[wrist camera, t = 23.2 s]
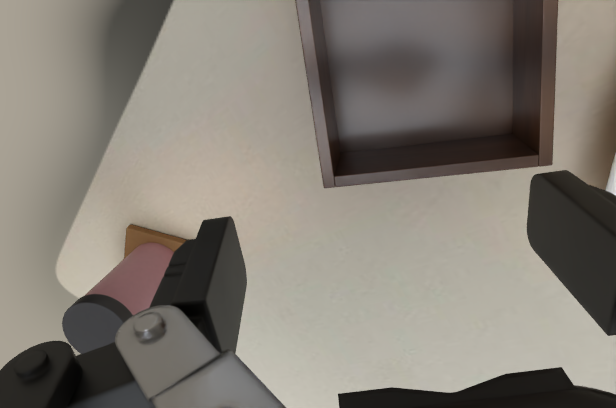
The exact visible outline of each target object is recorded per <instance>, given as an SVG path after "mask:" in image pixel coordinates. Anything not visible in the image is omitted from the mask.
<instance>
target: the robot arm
mask: <svg viewBox="0 0 616 408" xmlns="http://www.w3.org/2000/svg"><path fill="white" fill-rule="evenodd" d="M527 235H528V239H529V242H530V245H531V247H532V248H533V250H534V251H535V252H536V253H537V254H538V256H539V257H540V258H541V259H542V260H543V261H544V262H545V264H546V265H547V266H548V267H549V268H550V269H551V271H552V272H553V273H554V274H555V275H556V276H557V277H558V279H559V280H560V281H561V282H562V283H563V284H564V286H565V287H566V288H567V289H568V290H569V291H570V292H571V294H572V295H573V296H574V297H575V298H576V299H577V301H578V302H579V303H580V304H581V305H582V306H583V308H584V309H585V310H586V311H587V312H588V313H589V314H590V316H591V317H592V318H593V319H594V320H595V321H596V323H597V324H598V325H599V326H600V327H601V328H602V329H603V331H604V332H605V333H606V334H607V335H608V336H610V335H616V196H615V195H614V194H612V193H611V192H608V191H605V190H602V189H599V188H597V187H594V186H591V185H587V184H586V183H585V182H583V181H582V180H580V179H579V178H578V177H576V176H575V175H573V174H572V173H571V172H569V171H567V170H562V171H555V172H548V173H541V174H536V175H534V176H533V178H532V180H531V184H530V195H529V207H528V218H527ZM246 285H247V277H246V268H245V263H244V259H243V255H242V251H241V247H240V243H239V239H238V236H237V232H236V228H235V224H234V221H233V219H232V217H231V216H229V217H222V218H215V219H208V220H203V222H202V224H201V227H200V229H199V232H198V234H197V237H196V239H192V240H186V241H185V242H184V243H183V244H182V245H181V246H180V247H179V248H178V249H177V250H176V251H175V252H174V253H173V255H172V258H171V260H170V262H169V267H167V269H166V271H165V273H164V277H163V278H162V280H161V282H160V284H159V287H158V289H157V291H156V293H155V295H154V298H153V300H152V302H151V304H150V307H149V308H147V309H145V310H142V311H140V312H138V313H137V314H135V315H133V316H132V317H130V318H129V319H128V320H127V321H125V322H124V323H123V324H122V326H121V327H120V328H119V330H118V331H117V333H116V336H115V342H113V343H111V344H108V345H106V346H103V347H100V348H97V349H95V350H92V351H89V352H86V353H83V354H80V355H78V356H75V354H74V352H73V350H72V348H71V346H70V345H69V344H68V343H66V342H62V341H50V342H45V343H41V344H38V345H36V346H33V347H31V348H29V349H27V350H25V351H24V352H22V353H20V354H18V355H17V356H16V357H14V358H13V359H12V360H10V361H9V362H8V363H7V364H6V365H5V366H4V367H3V368H2V369H1V370H0V408H286V407H285V406H284V405H283V404H282V403H281V402H280V401H279V400H278V399H277V398H276V397H275V396H274V395H273V393H272V392H271V391H270V390H269V389H268V388H267V387H266V386H265V385H264V384H263V383H262V382H261V381H260V380H259V379H258V378H257V377H256V376H255V374H254V373H253V372H252V371H251V370H250V369H249V368H248V367H247V366H246V365H245V364H244V363H243V362H242V361H241V360H240V359H239V358H238V356H237V355H236V354H235V352H236V346H237V340H238V334H239V328H240V322H241V316H242V310H243V304H244V298H245V292H246ZM338 398H339V408H616V395H615V394H613V393H609V392H606V391H602V390H598V389H594V388H588V387H583V386H575V385H573V384H572V382H571V381H570V379H569V378H568V376H567V375H566V373H565V372H564V370H563V369H562V367H560V368H551V369H543V370H535V371H526V372H518V373H510V374H504V375H502V376H499V377H496V378H493V379H491V380H488V381H485V382H483V383H480V384H477V385H474V386H472V387H469V388H466V389H464V390H461V391H458V392H454V393H444V392H434V391H423V390H413V389H402V388H384V389H376V390H367V391H359V392H351V393H342V394H338Z"/></svg>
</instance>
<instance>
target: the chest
mask: <svg viewBox="0 0 616 408" xmlns="http://www.w3.org/2000/svg"><path fill="white" fill-rule="evenodd" d="M295 1H296V8H297V14H298V21H299V27H300V34H301V41H302V47H303V54H304V60H305V67H306V73H307V80H308V86H309V93H310V100H311V106H312V113H313V119H314V126H315V132H316V139H317V146H318V152H319V159H320V165H321V172H322V178H323V185H324V188H332V187H335V186H336V187H341V186H351V185H361V184H371V183H381V182H391V181H400V180H410V179H420V178H430V177H440V176H450V175H460V174H470V173H479V172H489V171H499V170H509V169H519V168H529V167H538V166H549V165H552V158H553V130H554V102H555V74H556V46H557V18H558V0H295Z"/></svg>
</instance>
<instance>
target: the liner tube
mask: <svg viewBox="0 0 616 408" xmlns="http://www.w3.org/2000/svg"><path fill="white" fill-rule="evenodd" d="M173 253H174V252H173V251H172V250H170V249H169V248H168V247H166V246H164V245H161V244H158V243H144V244H141V245H139V246H138V247H137V248H136V249H134V250H133V251H132V252H131V253H130V254H129V255H128V256H127V257H126V258H125V259H124V260H123V261H121V262H120V263H119V264H118V265H117V266H116V267H115V268H114V269H113V270H112V271H111V272H110V273H108V274H107V275H106V276H105V277H104V278H103V279H102V280H101V281H100V282H99V283H98V284H97V285H95V286H94V287H93V288H92V289H91V290H90V291H89V292H88V293H87V294H86V295H85V296H83V297H81V298H80V299H78V300H77V301H76V302H75V303H74V304H73V305H72V306H71V307H70V308H69V309H68V310H67V311H66V312H65V314H64V317H63V322H62V324H63V331H64V334H65V336H66V338H67V339H68V341H69V343H70V344H71V345H72V346H73V347H74V348H75V349H76V350H77V351H78V352H79V353H81V354H83V353H86V352H89V351H92V350H95V349H97V348H100V347H103V346H106V345H108V344H111V343H113V342H115V336H116V333H117V331H118V330H119V328H120V327H121V326H122V324H123V323H124V322H125V321H127V320H128V319H129V318H130V317H132V316H133V315H135V314H137V313H138V312H140V311H142V310H145V309H147V308H149V307H150V304H151V302H152V300H153V298H154V295H155V293H156V291H157V289H158V287H159V284H160V282H161V280H162V278H163V277H164V273H165V271H166V269H167V267H169V262H170V260H171V258H172V255H173Z"/></svg>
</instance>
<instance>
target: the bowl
mask: <svg viewBox="0 0 616 408" xmlns="http://www.w3.org/2000/svg"><path fill="white" fill-rule="evenodd" d="M605 191H608V192H611V193H612V194H614V195H615V196H616V154H615V157H614V159H613V163H612V167H611V171H610V175H609V178H608V182H607V186H606V190H605Z"/></svg>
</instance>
